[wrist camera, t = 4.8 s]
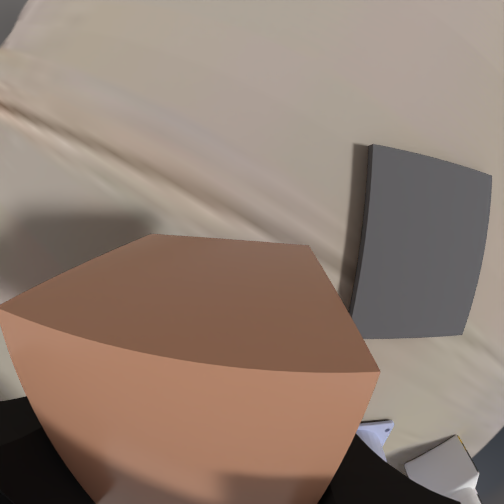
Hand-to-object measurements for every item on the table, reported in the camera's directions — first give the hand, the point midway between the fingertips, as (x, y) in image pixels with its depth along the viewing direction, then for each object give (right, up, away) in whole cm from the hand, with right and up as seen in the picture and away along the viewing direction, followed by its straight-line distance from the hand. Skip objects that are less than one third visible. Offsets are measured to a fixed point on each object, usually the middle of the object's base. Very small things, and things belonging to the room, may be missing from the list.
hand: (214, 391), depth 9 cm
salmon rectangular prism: (0, 0, +2) cm, 2 cm away
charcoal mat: (+13, +5, +7) cm, 15 cm away
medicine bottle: (+23, -20, +12) cm, 33 cm away
